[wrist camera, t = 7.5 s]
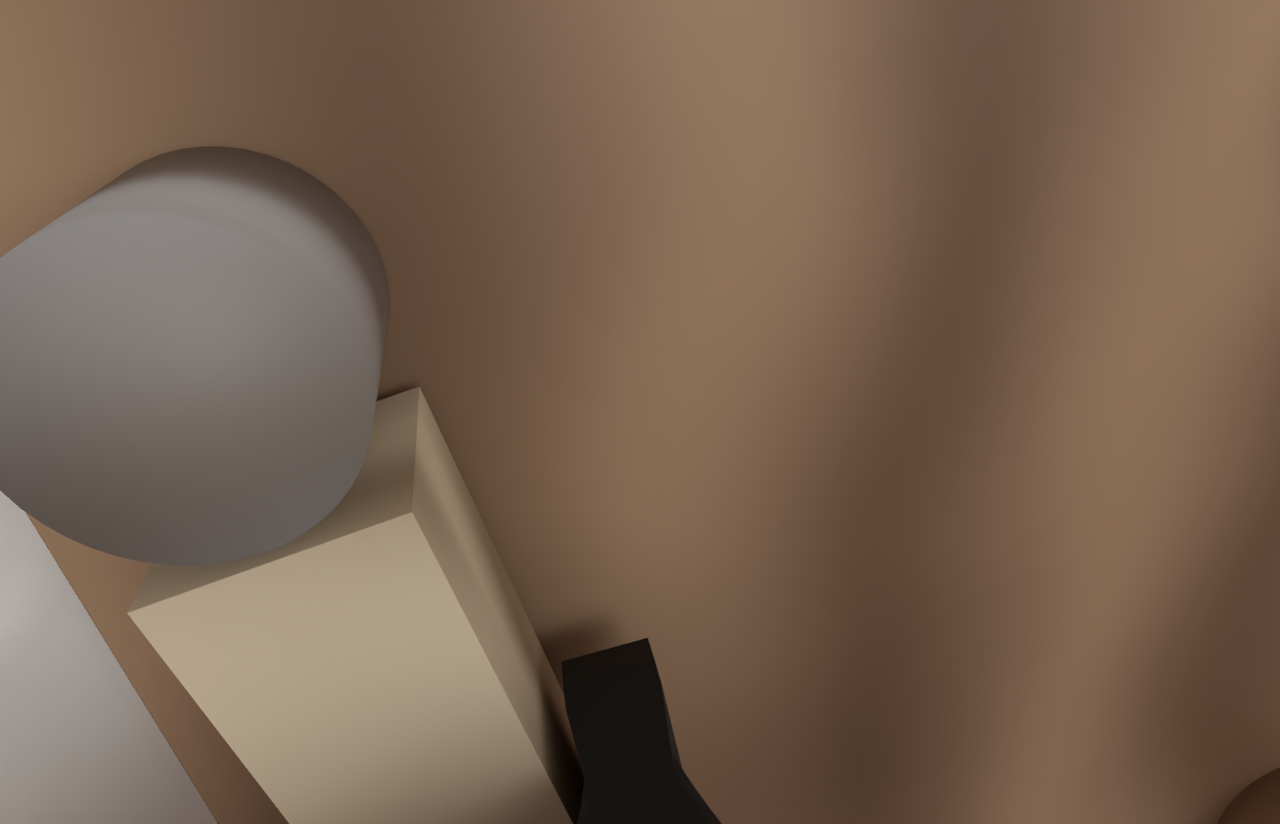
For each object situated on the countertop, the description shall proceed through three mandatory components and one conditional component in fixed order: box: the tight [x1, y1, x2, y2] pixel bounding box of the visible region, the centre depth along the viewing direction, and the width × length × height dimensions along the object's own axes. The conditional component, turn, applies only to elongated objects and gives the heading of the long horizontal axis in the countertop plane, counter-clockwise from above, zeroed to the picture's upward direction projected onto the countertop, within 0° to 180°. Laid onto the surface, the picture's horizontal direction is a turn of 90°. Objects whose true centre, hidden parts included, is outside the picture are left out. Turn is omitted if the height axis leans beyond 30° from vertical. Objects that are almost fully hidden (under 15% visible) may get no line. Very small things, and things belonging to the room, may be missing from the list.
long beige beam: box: [0, 146, 584, 824], centre depth 10 cm, size 12×3×2 cm, turn 17°
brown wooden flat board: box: [0, 0, 1280, 824], centre depth 12 cm, size 20×20×4 cm
